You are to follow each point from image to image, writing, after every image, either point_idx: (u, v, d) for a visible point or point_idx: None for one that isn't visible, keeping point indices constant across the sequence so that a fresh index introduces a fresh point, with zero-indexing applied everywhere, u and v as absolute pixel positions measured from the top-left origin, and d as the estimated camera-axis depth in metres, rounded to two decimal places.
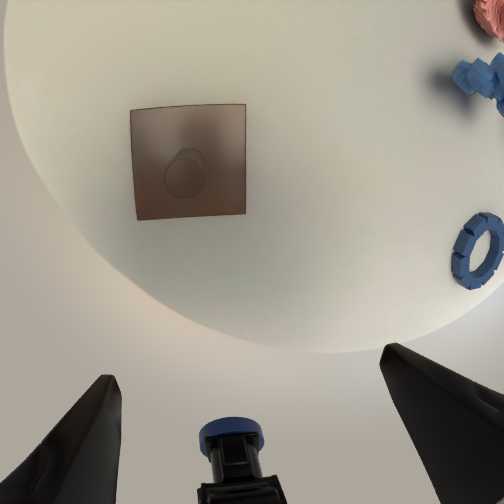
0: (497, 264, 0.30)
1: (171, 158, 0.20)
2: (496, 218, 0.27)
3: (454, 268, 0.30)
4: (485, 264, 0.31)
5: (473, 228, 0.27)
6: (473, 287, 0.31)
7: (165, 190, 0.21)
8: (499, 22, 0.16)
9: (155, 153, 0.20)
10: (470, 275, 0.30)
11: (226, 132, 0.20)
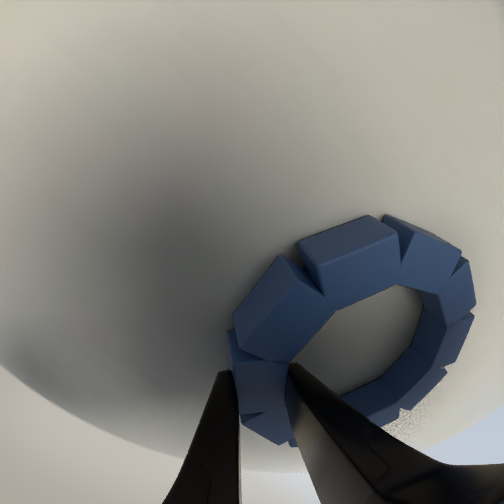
0: None
1: None
2: (472, 299, 0.09)
3: (247, 307, 0.09)
4: None
5: None
6: (259, 428, 0.10)
7: None
8: None
9: None
10: (280, 384, 0.09)
11: None
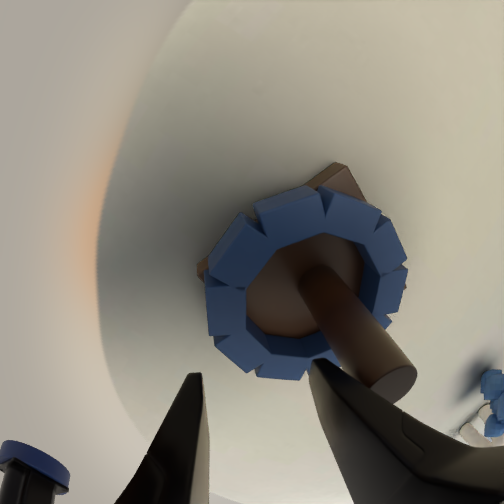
0: None
1: (311, 262, 0.14)
2: (401, 253, 0.13)
3: (217, 248, 0.12)
4: (297, 343, 0.15)
5: None
6: (228, 351, 0.13)
7: (265, 283, 0.14)
8: None
9: (307, 239, 0.14)
10: (241, 308, 0.13)
11: None
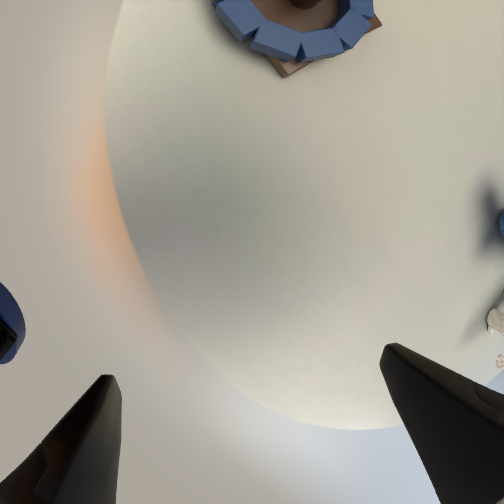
0: (316, 47, 0.14)
1: None
2: None
3: None
4: None
5: None
6: (229, 10, 0.12)
7: None
8: None
9: None
10: None
11: None
